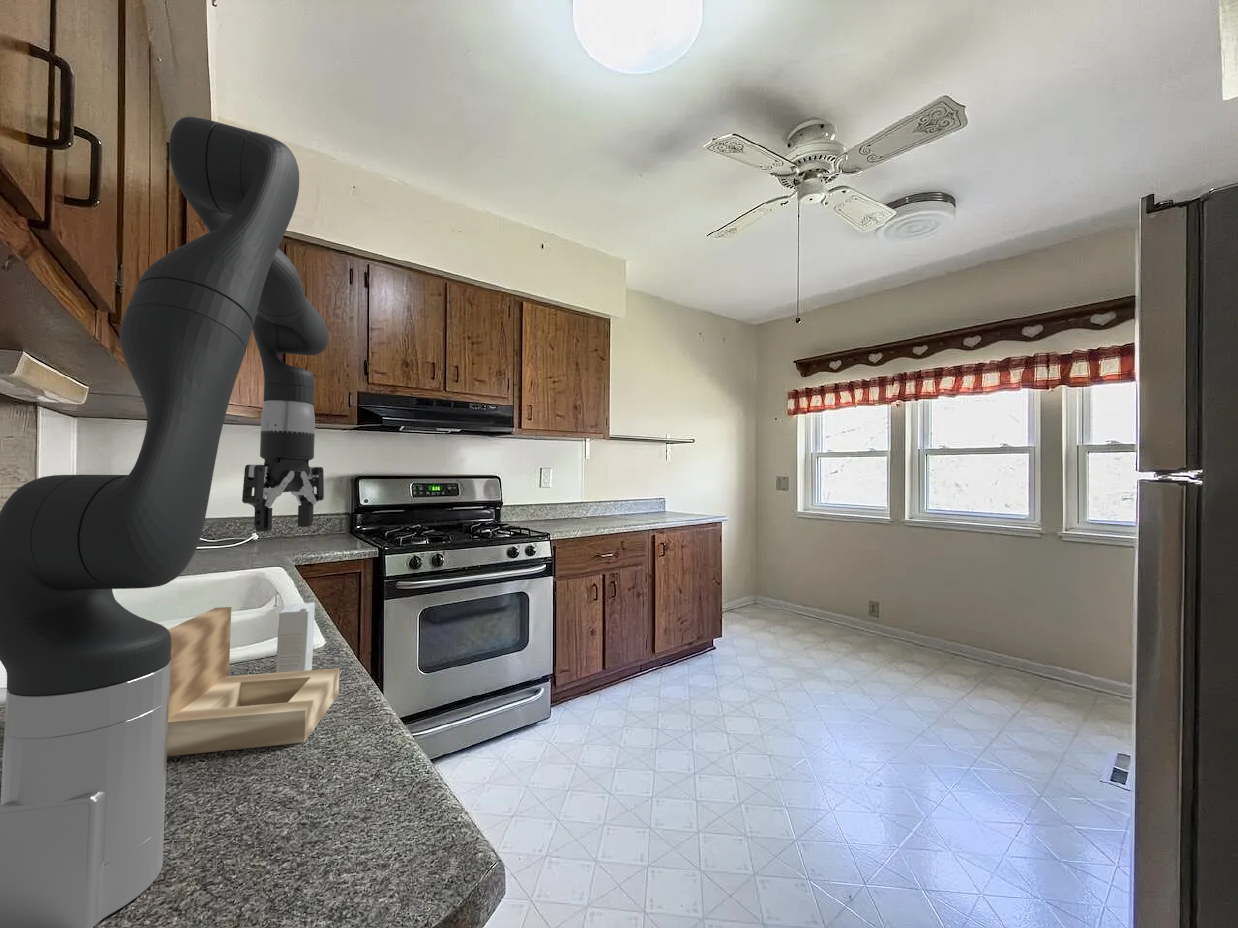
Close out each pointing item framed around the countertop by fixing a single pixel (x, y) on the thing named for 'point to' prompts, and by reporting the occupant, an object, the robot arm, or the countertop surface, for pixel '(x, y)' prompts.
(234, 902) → the countertop surface
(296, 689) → the wooden frame with backboard
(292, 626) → the skincare box
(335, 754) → the countertop surface
